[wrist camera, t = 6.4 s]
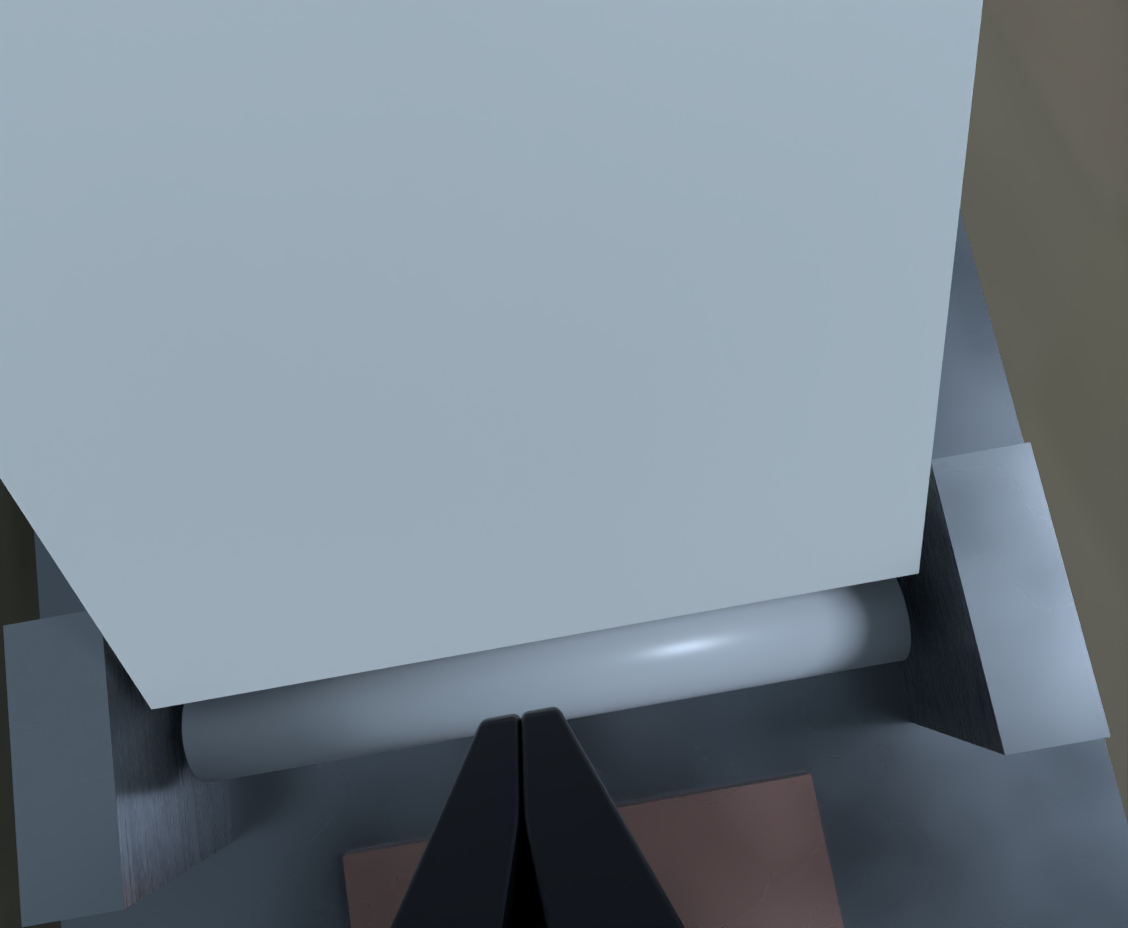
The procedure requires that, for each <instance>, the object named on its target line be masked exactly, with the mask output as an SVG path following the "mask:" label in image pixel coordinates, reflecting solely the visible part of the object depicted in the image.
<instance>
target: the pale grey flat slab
mask: <svg viewBox="0 0 1128 928" xmlns="http://www.w3.org/2000/svg"><path fill="white" fill-rule="evenodd" d="M982 5H983V0H0V479H1V480H2V482H3V483H4V485H5V486H6V488H7V489H8V491H9V492H10V494H11V495H12V497H13V499H14V500H15V502H16V503H17V505H18V506H19V508H20V509H21V511H22V512H23V514H24V515H25V517H26V518H27V520H28V521H29V523H30V524H31V526H32V528H33V529H34V531H35V532H36V534H37V535H38V537H39V538H40V540H41V541H42V543H43V544H44V546H45V547H46V549H47V550H48V552H49V554H50V555H51V557H52V558H53V560H54V561H55V563H56V564H57V566H58V567H59V569H60V570H61V572H62V573H63V575H64V576H65V578H66V580H67V581H68V583H69V584H70V586H71V587H72V589H73V590H74V592H75V593H76V595H77V596H78V598H79V599H80V601H81V602H82V604H83V606H84V607H85V609H86V610H87V612H88V613H89V615H90V616H91V618H92V619H93V621H94V622H95V624H96V625H97V627H98V628H99V630H100V632H101V633H102V635H103V636H104V638H105V639H106V641H107V642H108V644H109V645H110V647H111V648H112V650H113V651H114V653H115V654H116V656H117V658H118V659H119V661H120V662H121V664H122V665H123V667H124V668H125V670H126V671H127V673H128V674H129V676H130V677H131V679H132V680H133V682H134V684H135V685H136V687H137V688H138V690H139V691H140V693H141V694H142V696H143V697H144V699H145V700H146V702H147V703H148V705H149V706H150V708H151V710H152V709H157V708H163V707H169V706H174V705H180V704H184V707H183V714H182V739H183V746H184V751H185V755H186V758H187V761H188V764H189V766H190V769H191V770H192V772H193V774H194V775H195V776H196V777H197V778H198V779H199V780H200V781H202V782H204V783H211V782H216V781H222V780H228V779H233V778H239V777H245V776H250V775H256V774H262V773H267V772H273V771H279V770H284V769H290V768H296V767H301V766H307V765H313V764H318V763H324V762H330V761H335V760H341V759H347V758H352V757H358V756H364V755H369V754H375V753H381V752H386V751H392V750H398V749H403V748H409V747H415V746H420V745H426V744H432V743H437V742H443V741H449V740H454V739H460V738H466V737H471V736H474V735H475V732H476V730H477V728H478V726H479V724H480V723H481V722H482V721H483V720H484V719H487V718H491V717H497V716H502V715H508V714H517V715H519V716H520V718H521V717H522V714H523V713H524V712H526V711H531V710H536V709H542V708H548V707H557V708H559V709H560V710H561V712H562V713H563V715H564V717H565V718H566V720H568V719H573V718H579V717H585V716H591V715H596V714H602V713H608V712H613V711H619V710H625V709H630V708H636V707H642V706H647V705H653V704H659V703H664V702H670V701H676V700H681V699H687V698H693V697H698V696H704V695H710V694H715V693H721V692H727V691H732V690H738V689H744V688H749V687H755V686H761V685H766V684H772V683H778V682H783V681H789V680H795V679H800V678H806V677H812V676H817V675H823V674H829V673H834V672H840V671H846V670H851V669H857V668H863V667H868V666H874V665H880V664H885V663H891V662H897V661H902V660H905V659H906V658H907V657H908V655H909V652H910V647H911V631H910V623H909V617H908V612H907V608H906V604H905V600H904V597H903V594H902V591H901V588H900V586H899V584H898V581H897V579H896V577H901V576H907V575H913V574H918V573H919V566H920V557H921V549H922V540H923V531H924V522H925V513H926V504H927V495H928V486H929V477H930V468H931V459H932V451H933V442H934V433H935V424H936V415H937V406H938V397H939V388H940V379H941V370H942V361H943V352H944V344H945V335H946V326H947V317H948V308H949V299H950V290H951V281H952V272H953V263H954V254H955V246H956V237H957V228H958V219H959V210H960V201H961V192H962V183H963V174H964V165H965V156H966V147H967V139H968V130H969V121H970V112H971V103H972V94H973V85H974V76H975V67H976V58H977V49H978V41H979V32H980V23H981V14H982Z"/></svg>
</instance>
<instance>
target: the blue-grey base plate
mask: <svg viewBox="0 0 1128 928" xmlns="http://www.w3.org/2000/svg"><path fill="white" fill-rule="evenodd" d="M34 540H35V555H36V569H37V584H38V598H39V613H40V619H38V620H32V621H27V622H21V623H15V624H10V625H4V626H3V632H4V648H5V665H6V681H7V697H8V714H9V730H10V746H11V763H12V779H13V795H14V812H15V828H16V844H17V861H18V877H19V893H20V910H21V926H22V927H27V926H33V925H38V924H44V923H50V922H55V921H61V928H390V927H391V924H392V922H393V920H394V918H395V915H396V913H397V911H398V908H399V906H400V904H401V902H402V899H403V897H404V895H405V892H406V890H407V888H408V885H409V883H410V881H411V879H412V876H413V874H414V872H415V869H416V867H417V865H418V863H419V860H420V858H421V856H422V853H423V851H424V849H425V847H426V844H427V842H428V840H429V837H430V835H431V833H432V831H433V828H434V826H435V824H436V821H437V819H438V817H439V815H440V812H441V810H442V808H443V805H444V803H445V801H446V799H447V796H448V794H449V792H450V789H451V787H452V785H453V783H454V780H455V778H456V776H457V773H458V771H459V769H460V767H461V764H462V762H463V760H464V757H465V755H466V753H467V751H468V748H469V746H470V744H471V741H472V739H473V737H474V736H471V737H466V738H460V739H454V740H449V741H443V742H437V743H432V744H426V745H420V746H415V747H409V748H403V749H398V750H392V751H386V752H381V753H375V754H369V755H364V756H358V757H352V758H347V759H341V760H335V761H330V762H324V763H318V764H313V765H307V766H301V767H296V768H290V769H284V770H279V771H273V772H267V773H262V774H256V775H250V776H245V777H239V778H233V779H228V780H222V781H216V782H211V783H204V782H202V781H200V780H199V779H198V778H197V777H196V776H195V775H194V774H193V772H192V770H191V769H190V766H189V764H188V761H187V758H186V755H185V751H184V746H183V739H182V714H183V707H184V704H180V705H174V706H169V707H163V708H157V709H152V710H151V708H150V706H149V705H148V703H147V702H146V700H145V699H144V697H143V696H142V694H141V693H140V691H139V690H138V688H137V687H136V685H135V684H134V682H133V680H132V679H131V677H130V676H129V674H128V673H127V671H126V670H125V668H124V667H123V665H122V664H121V662H120V661H119V659H118V658H117V656H116V654H115V653H114V651H113V650H112V648H111V647H110V645H109V644H108V642H107V641H106V639H105V638H104V636H103V635H102V633H101V632H100V630H99V628H98V627H97V625H96V624H95V622H94V621H93V619H92V618H91V616H90V615H89V613H88V612H87V610H86V609H85V607H84V606H83V604H82V602H81V601H80V599H79V598H78V596H77V595H76V593H75V592H74V590H73V589H72V587H71V586H70V584H69V583H68V581H67V580H66V578H65V576H64V575H63V573H62V572H61V570H60V569H59V567H58V566H57V564H56V563H55V561H54V560H53V558H52V557H51V555H50V554H49V552H48V550H47V549H46V547H45V546H44V544H43V543H42V541H41V540H40V538H39V537H38V535H37V534H36V532H35V531H34ZM896 579H897V581H898V584H899V586H900V588H901V591H902V594H903V597H904V600H905V604H906V608H907V612H908V617H909V623H910V631H911V647H910V652H909V655H908V657H907V658H906V659H905V660H902V661H897V662H891V663H885V664H880V665H874V666H868V667H863V668H857V669H851V670H846V671H840V672H834V673H829V674H823V675H817V676H812V677H806V678H800V679H795V680H789V681H783V682H778V683H772V684H766V685H761V686H755V687H749V688H744V689H738V690H732V691H727V692H721V693H715V694H710V695H704V696H698V697H693V698H687V699H681V700H676V701H670V702H664V703H659V704H653V705H647V706H642V707H636V708H630V709H625V710H619V711H613V712H608V713H602V714H596V715H591V716H585V717H579V718H573V719H568V720H567V722H568V724H569V725H570V727H571V729H572V731H573V732H574V734H575V736H576V738H577V739H578V741H579V743H580V745H581V746H582V748H583V750H584V752H585V753H586V755H587V757H588V759H589V760H590V762H591V764H592V766H593V767H594V769H595V771H596V773H597V774H598V776H599V778H600V780H601V781H602V783H603V785H604V787H605V788H606V790H607V792H608V794H609V795H610V797H611V799H612V801H613V802H614V804H615V806H616V808H617V809H618V811H619V813H620V815H621V816H622V818H623V820H624V822H625V823H626V825H627V827H628V829H629V830H630V832H631V834H632V836H633V837H634V839H635V841H636V843H637V844H638V846H639V848H640V850H641V851H642V853H643V855H644V857H645V858H646V860H647V862H648V864H649V865H650V867H651V869H652V871H653V872H654V874H655V876H656V878H657V879H658V881H659V883H660V885H661V886H662V888H663V890H664V892H665V893H666V895H667V897H668V899H669V900H670V902H671V904H672V906H673V907H674V909H675V911H676V913H677V914H678V916H679V918H680V920H681V921H682V923H683V925H684V927H685V928H1128V823H1127V819H1126V816H1125V812H1124V808H1123V805H1122V801H1121V797H1120V794H1119V790H1118V786H1117V783H1116V779H1115V775H1114V772H1113V768H1112V764H1111V761H1110V757H1109V753H1108V750H1107V746H1106V742H1105V739H1104V738H1107V737H1111V736H1110V732H1109V728H1108V725H1107V721H1106V717H1105V714H1104V710H1103V707H1102V703H1101V699H1100V696H1099V692H1098V688H1097V685H1096V681H1095V677H1094V674H1093V670H1092V666H1091V663H1090V659H1089V655H1088V652H1087V648H1086V644H1085V641H1084V637H1083V633H1082V630H1081V626H1080V622H1079V619H1078V615H1077V612H1076V608H1075V604H1074V601H1073V597H1072V593H1071V590H1070V586H1069V582H1068V579H1067V575H1066V571H1065V568H1064V564H1063V560H1062V557H1061V553H1060V549H1059V546H1058V542H1057V538H1056V535H1055V531H1054V528H1053V524H1052V520H1051V517H1050V513H1049V509H1048V506H1047V502H1046V498H1045V495H1044V491H1043V487H1042V484H1041V480H1040V476H1039V473H1038V469H1037V465H1036V462H1035V458H1034V454H1033V451H1032V447H1031V444H1030V442H1028V443H1024V441H1023V438H1022V434H1021V430H1020V427H1019V423H1018V419H1017V416H1016V412H1015V408H1014V405H1013V401H1012V397H1011V394H1010V390H1009V386H1008V383H1007V379H1006V375H1005V372H1004V368H1003V364H1002V361H1001V357H1000V353H999V349H998V346H997V342H996V338H995V335H994V331H993V327H992V324H991V320H990V316H989V313H988V309H987V305H986V302H985V298H984V294H983V291H982V287H981V283H980V280H979V276H978V272H977V269H976V265H975V261H974V258H973V254H972V250H971V247H970V243H969V239H968V236H967V232H966V228H965V225H964V221H963V217H962V214H961V210H959V219H958V228H957V237H956V246H955V254H954V263H953V272H952V281H951V290H950V299H949V308H948V317H947V326H946V335H945V344H944V352H943V361H942V370H941V379H940V388H939V397H938V406H937V415H936V424H935V433H934V442H933V451H932V459H931V468H930V477H929V486H928V495H927V504H926V513H925V522H924V531H923V540H922V549H921V557H920V566H919V573H918V574H913V575H907V576H901V577H896Z"/></svg>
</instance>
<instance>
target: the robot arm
mask: <svg viewBox="0 0 1128 928" xmlns="http://www.w3.org/2000/svg"><path fill="white" fill-rule="evenodd" d="M390 928H685V927H684V925H683V923H682V921H681V920H680V918H679V916H678V914H677V913H676V911H675V909H674V907H673V906H672V904H671V902H670V900H669V899H668V897H667V895H666V893H665V892H664V890H663V888H662V886H661V885H660V883H659V881H658V879H657V878H656V876H655V874H654V872H653V871H652V869H651V867H650V865H649V864H648V862H647V860H646V858H645V857H644V855H643V853H642V851H641V850H640V848H639V846H638V844H637V843H636V841H635V839H634V837H633V836H632V834H631V832H630V830H629V829H628V827H627V825H626V823H625V822H624V820H623V818H622V816H621V815H620V813H619V811H618V809H617V808H616V806H615V804H614V802H613V801H612V799H611V797H610V795H609V794H608V792H607V790H606V788H605V787H604V785H603V783H602V781H601V780H600V778H599V776H598V774H597V773H596V771H595V769H594V767H593V766H592V764H591V762H590V760H589V759H588V757H587V755H586V753H585V752H584V750H583V748H582V746H581V745H580V743H579V741H578V739H577V738H576V736H575V734H574V732H573V731H572V729H571V727H570V725H569V724H568V722H567V720H566V718H565V717H564V715H563V713H562V712H561V710H560V709H559V708H557V707H548V708H542V709H536V710H531V711H526V712H524V713H523V714H522V717H521V718H520V716H519V715H517V714H508V715H502V716H497V717H491V718H487V719H484V720H483V721H482V722H481V723H480V724H479V726H478V728H477V730H476V732H475V735H474V737H473V739H472V741H471V744H470V746H469V748H468V751H467V753H466V755H465V757H464V760H463V762H462V764H461V767H460V769H459V771H458V773H457V776H456V778H455V780H454V783H453V785H452V787H451V789H450V792H449V794H448V796H447V799H446V801H445V803H444V805H443V808H442V810H441V812H440V815H439V817H438V819H437V821H436V824H435V826H434V828H433V831H432V833H431V835H430V837H429V840H428V842H427V844H426V847H425V849H424V851H423V853H422V856H421V858H420V860H419V863H418V865H417V867H416V869H415V872H414V874H413V876H412V879H411V881H410V883H409V885H408V888H407V890H406V892H405V895H404V897H403V899H402V902H401V904H400V906H399V908H398V911H397V913H396V915H395V918H394V920H393V922H392V924H391V927H390Z"/></svg>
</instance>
